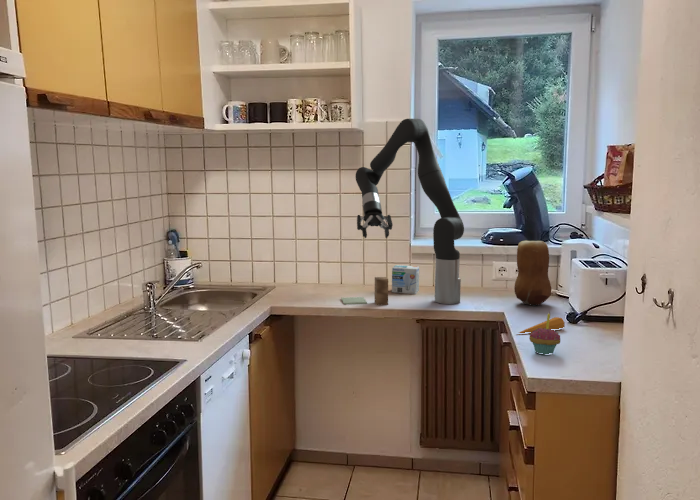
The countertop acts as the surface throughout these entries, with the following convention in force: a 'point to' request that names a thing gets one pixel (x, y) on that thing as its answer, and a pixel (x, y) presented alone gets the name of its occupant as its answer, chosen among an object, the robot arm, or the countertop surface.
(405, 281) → the light bulb box
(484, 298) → the countertop surface
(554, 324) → the carrot
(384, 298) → the walnut block
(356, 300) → the coaster
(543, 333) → the cupcake
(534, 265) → the butternut squash
